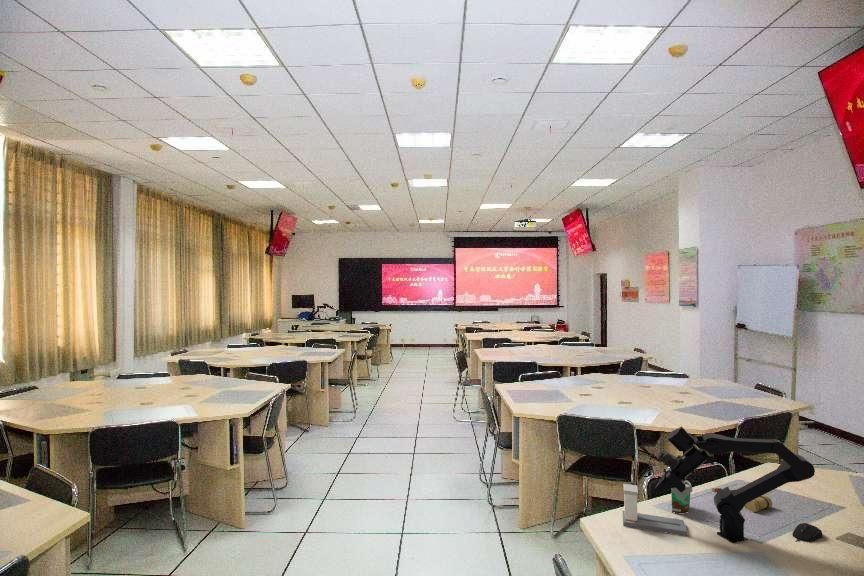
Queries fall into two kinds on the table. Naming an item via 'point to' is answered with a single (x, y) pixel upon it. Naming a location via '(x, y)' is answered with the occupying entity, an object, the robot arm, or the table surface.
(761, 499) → the gavel
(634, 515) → the fader knob
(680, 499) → the food container
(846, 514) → the table surface
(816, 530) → the gaming mouse
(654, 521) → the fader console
